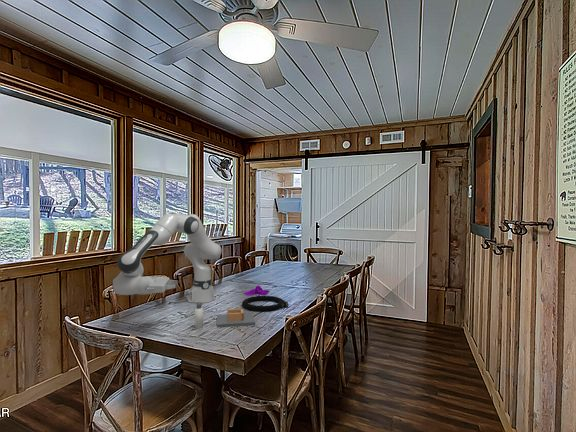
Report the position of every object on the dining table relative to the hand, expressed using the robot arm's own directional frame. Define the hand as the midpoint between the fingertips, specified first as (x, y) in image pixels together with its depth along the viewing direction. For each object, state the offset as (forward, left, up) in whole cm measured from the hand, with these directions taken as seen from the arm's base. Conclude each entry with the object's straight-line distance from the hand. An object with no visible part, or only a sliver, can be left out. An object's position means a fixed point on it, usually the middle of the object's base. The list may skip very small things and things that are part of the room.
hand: (176, 284), depth 168 cm
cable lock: (-10, +59, -24) cm, 65 cm away
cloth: (-40, +72, -24) cm, 86 cm away
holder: (+6, +30, -23) cm, 39 cm away
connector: (+4, +10, -23) cm, 26 cm away
